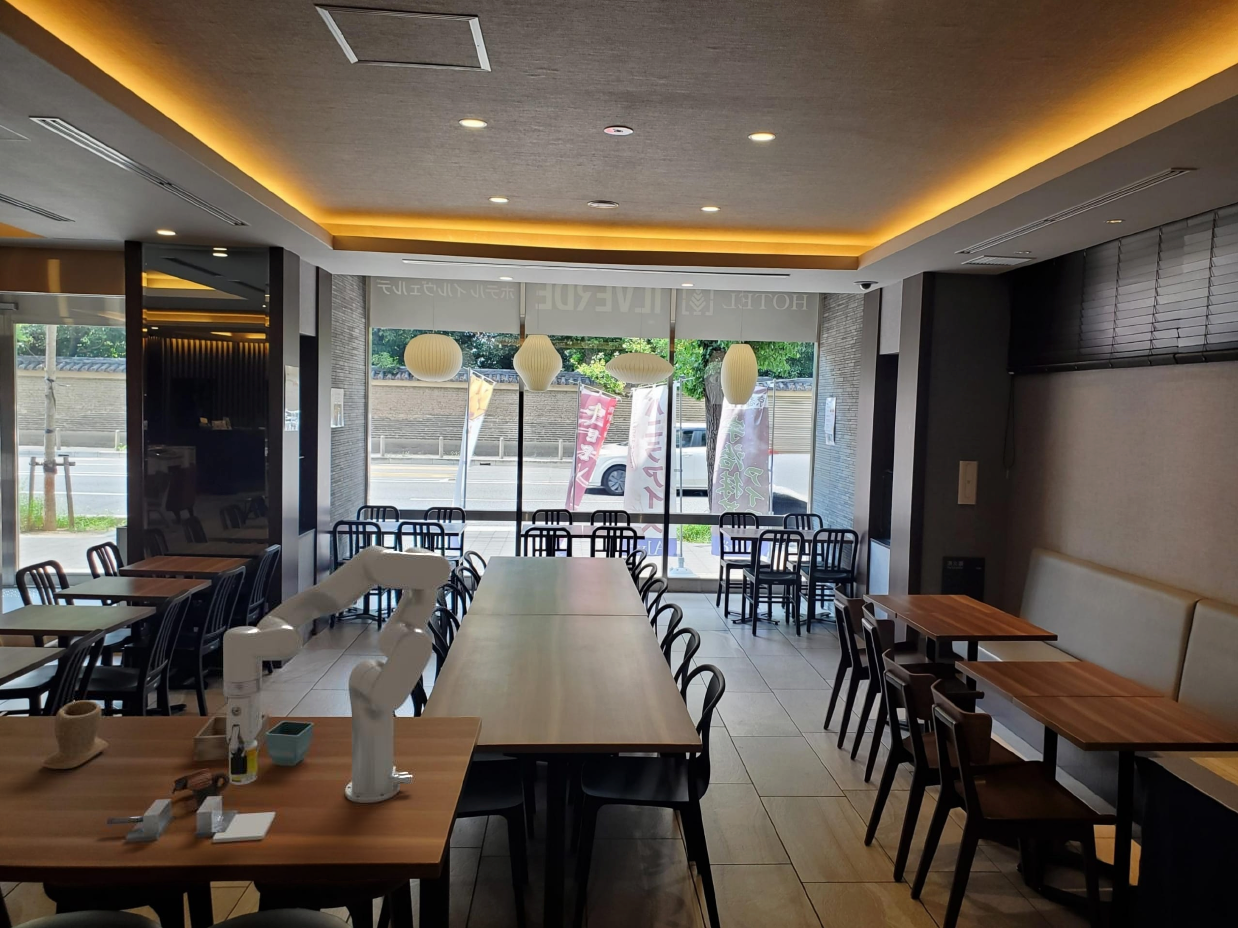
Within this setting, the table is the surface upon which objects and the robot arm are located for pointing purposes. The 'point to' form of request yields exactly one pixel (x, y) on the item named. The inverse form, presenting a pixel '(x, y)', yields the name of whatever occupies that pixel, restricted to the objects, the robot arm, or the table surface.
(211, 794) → the pottery mug
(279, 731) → the flower pot
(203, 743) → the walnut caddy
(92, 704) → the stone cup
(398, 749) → the table surface
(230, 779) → the supplement bottle
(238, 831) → the white coaster
